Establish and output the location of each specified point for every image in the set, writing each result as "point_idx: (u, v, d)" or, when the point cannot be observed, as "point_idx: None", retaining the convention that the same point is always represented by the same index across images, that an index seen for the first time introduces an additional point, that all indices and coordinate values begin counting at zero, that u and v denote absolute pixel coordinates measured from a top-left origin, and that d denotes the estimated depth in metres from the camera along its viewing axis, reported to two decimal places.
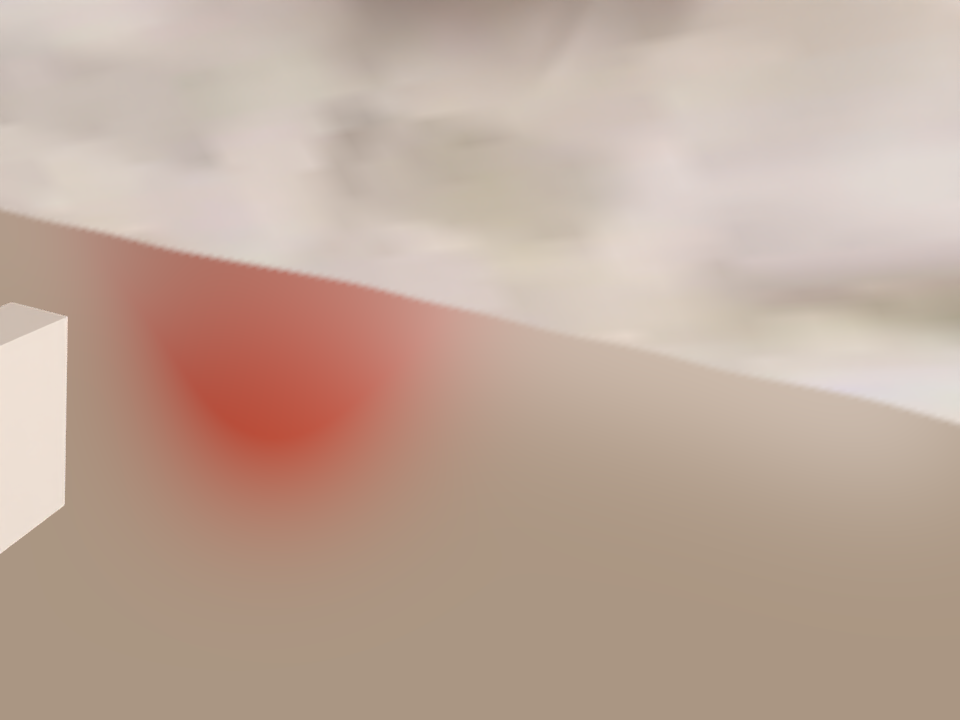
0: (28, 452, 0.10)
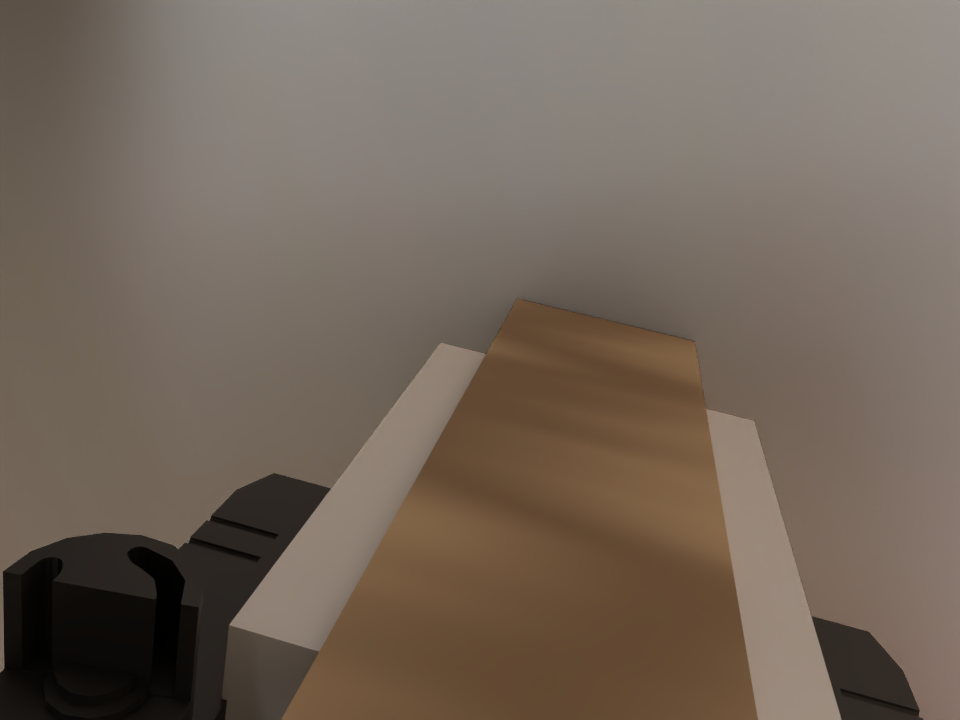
0: None
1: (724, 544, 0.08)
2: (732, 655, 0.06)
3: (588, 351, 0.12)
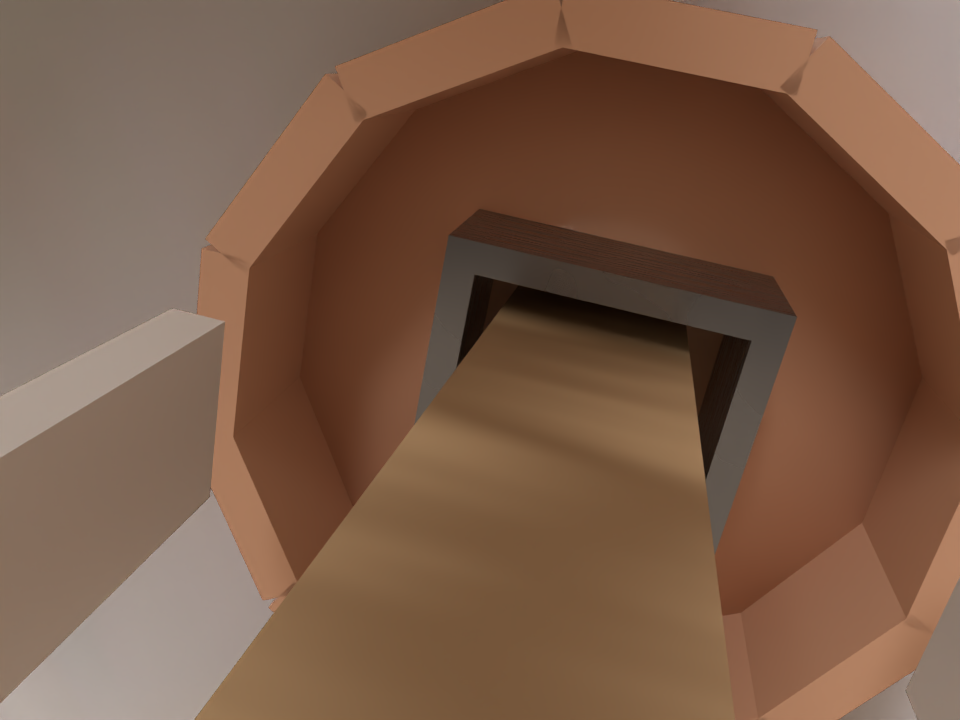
0: (190, 447, 0.11)
1: (698, 466, 0.09)
2: (700, 541, 0.07)
3: (585, 324, 0.13)
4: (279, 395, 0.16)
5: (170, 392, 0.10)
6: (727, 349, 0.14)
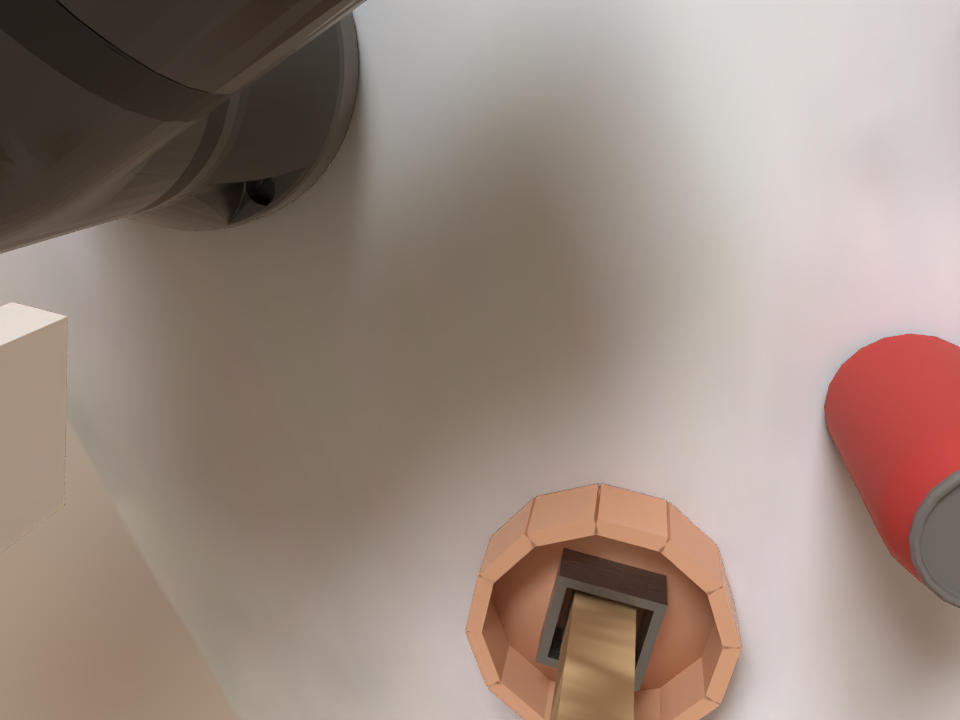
0: (28, 452, 0.10)
1: (633, 671, 0.36)
2: (631, 697, 0.35)
3: (602, 599, 0.41)
4: (488, 609, 0.43)
5: None
6: None
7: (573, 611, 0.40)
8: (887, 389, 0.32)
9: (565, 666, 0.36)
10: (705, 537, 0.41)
